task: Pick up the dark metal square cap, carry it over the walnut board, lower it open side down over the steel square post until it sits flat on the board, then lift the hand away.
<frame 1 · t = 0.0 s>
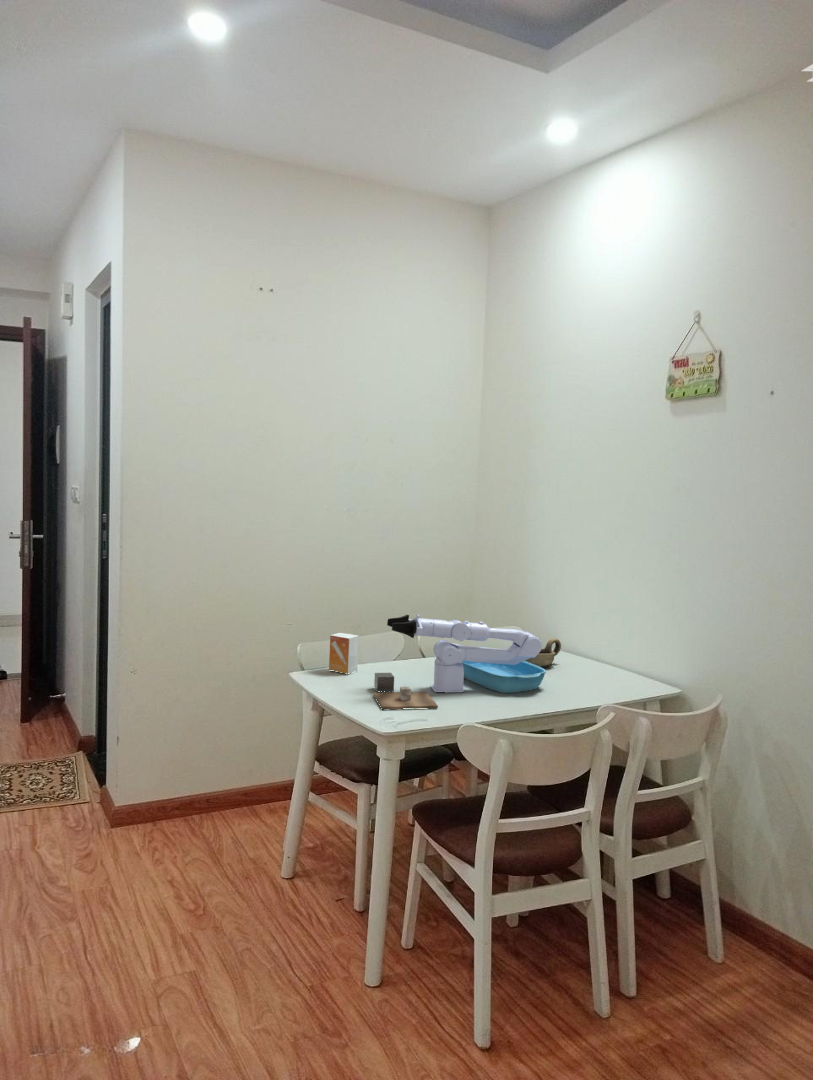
hand: (389, 624, 259), 22 cm above the table, tool horizontal, fingers open, 7 cm apart
post board: (404, 702, 249), on the table
casserole dish: (496, 682, 278), on the table
small box: (343, 672, 283), on the table
bowl: (539, 666, 304), on the table
square cap: (383, 690, 262), on the table
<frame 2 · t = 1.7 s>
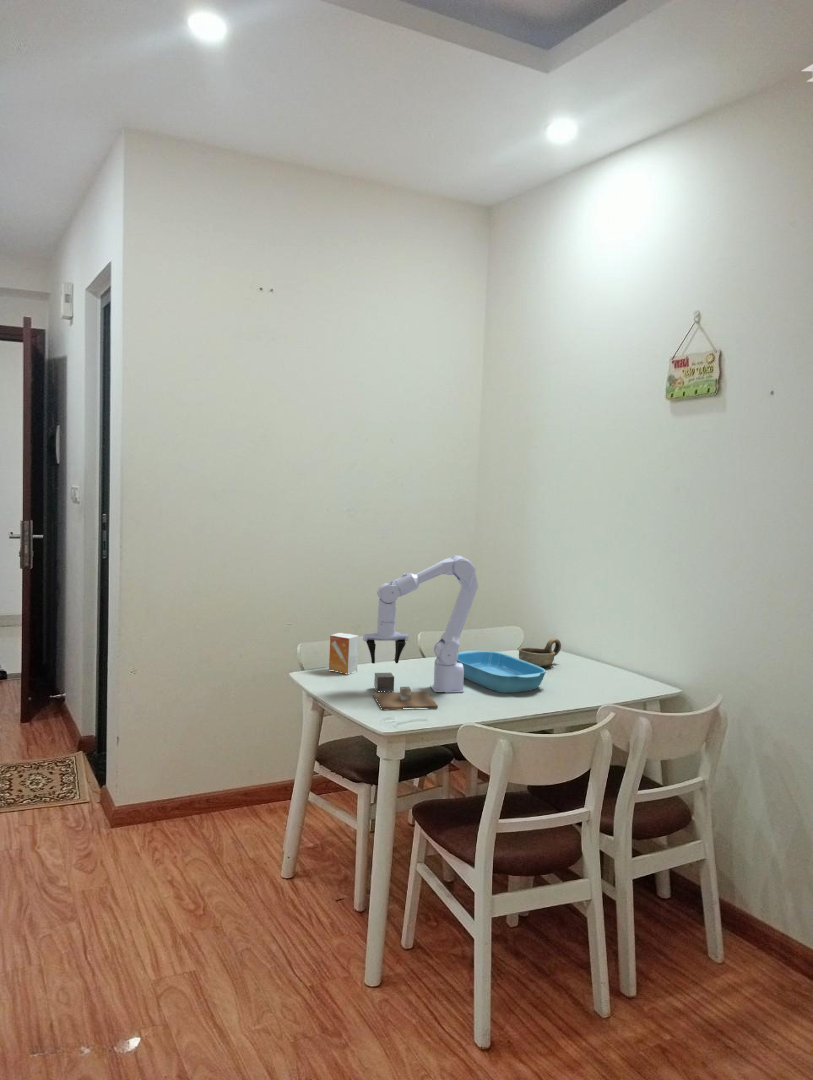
hand: (384, 662, 261), 9 cm above the table, tool pointing down, fingers open, 7 cm apart
nothing on the table moved.
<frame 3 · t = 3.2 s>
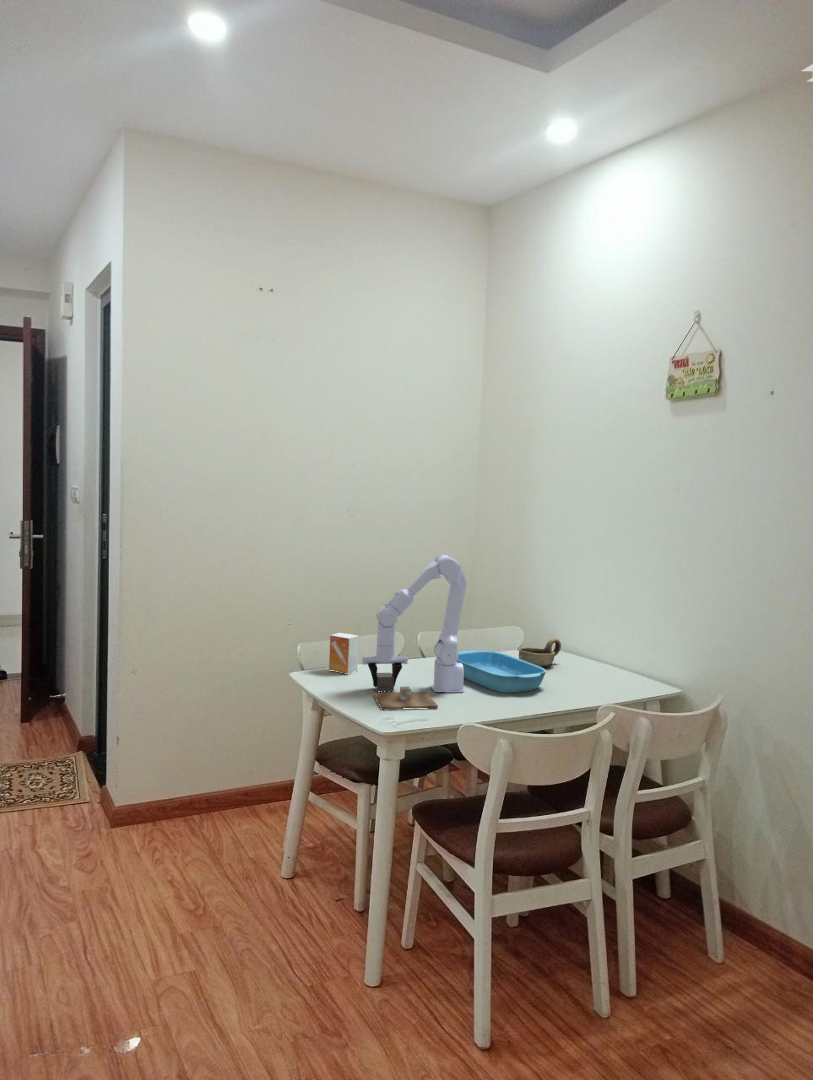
hand: (384, 685, 262), 1 cm above the table, tool pointing down, fingers closed on square cap, 5 cm apart
square cap: (383, 690, 262), on the table, touching gripper
everything else where it was.
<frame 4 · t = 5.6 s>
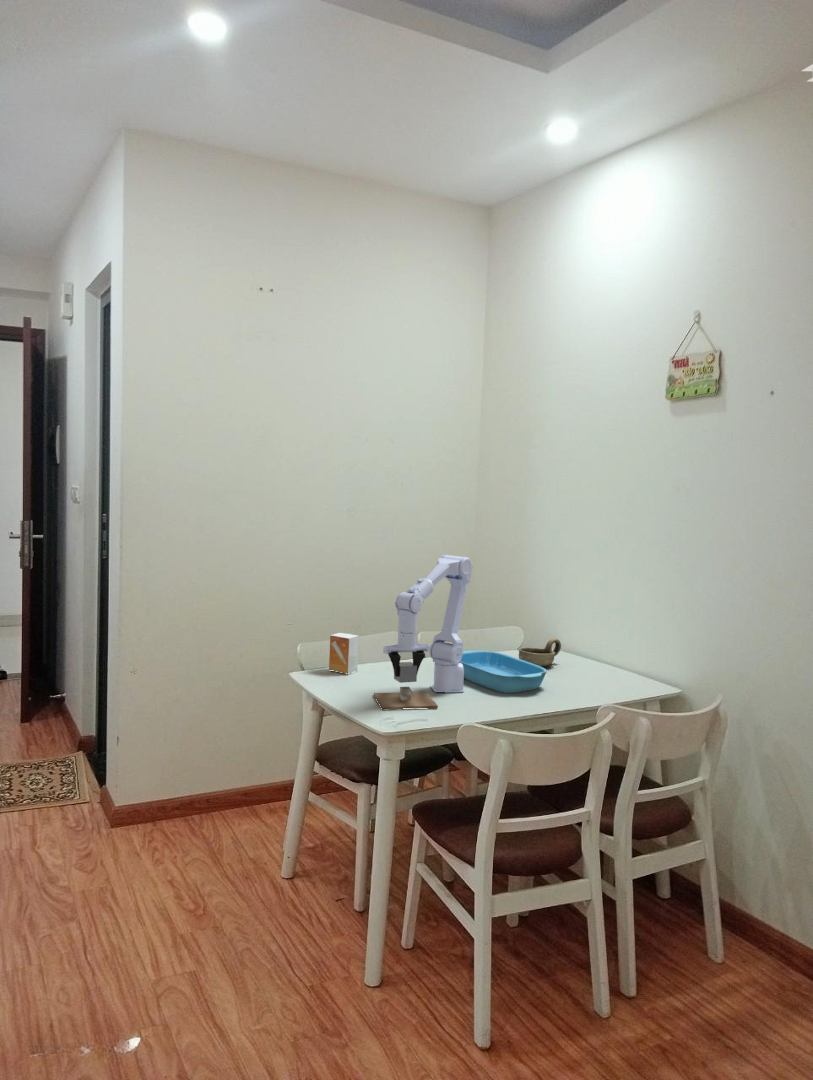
hand: (405, 675, 248), 8 cm above the table, tool pointing down, fingers closed on square cap, 5 cm apart
square cap: (405, 680, 249), point 7 cm above the table, touching gripper
everything else where it was.
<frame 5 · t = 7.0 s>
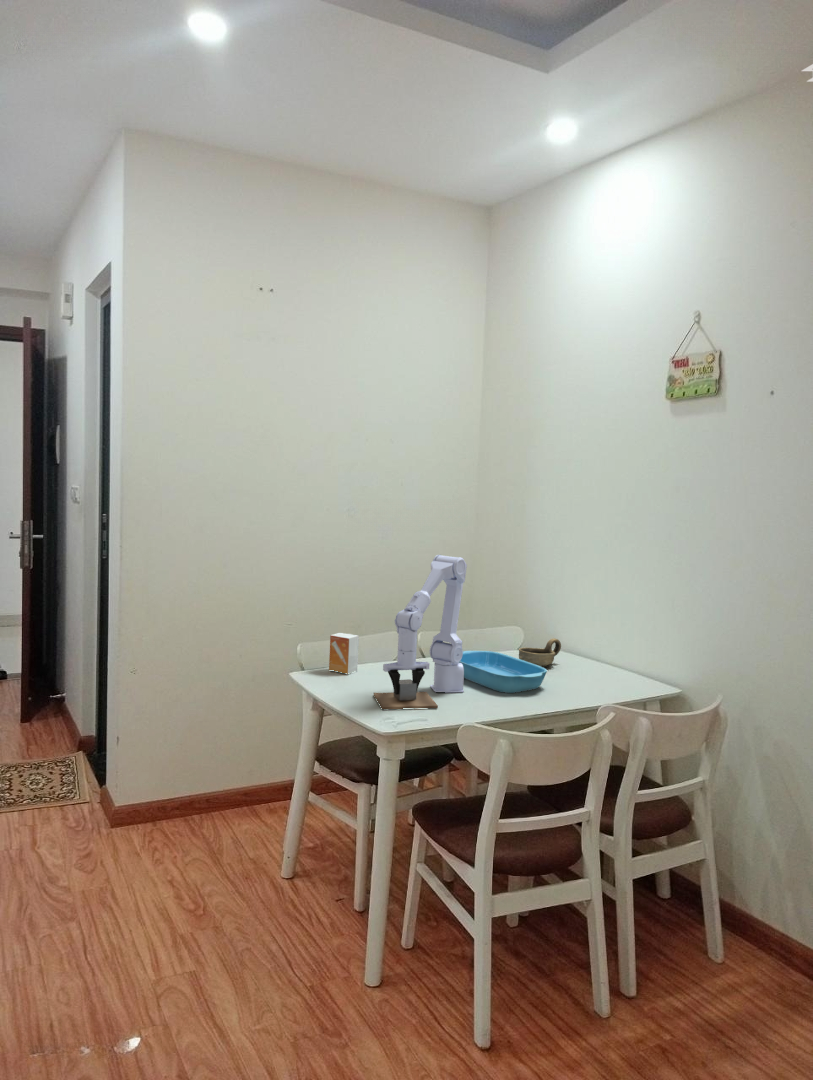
hand: (405, 693, 249), 3 cm above the table, tool pointing down, fingers closed on square cap, 5 cm apart
square cap: (404, 697, 249), point 1 cm above the table, touching gripper
everything else where it was.
when the fingers open (3 cm above the table, at t = 8.2 s): square cap stays where it is, resting on post board.
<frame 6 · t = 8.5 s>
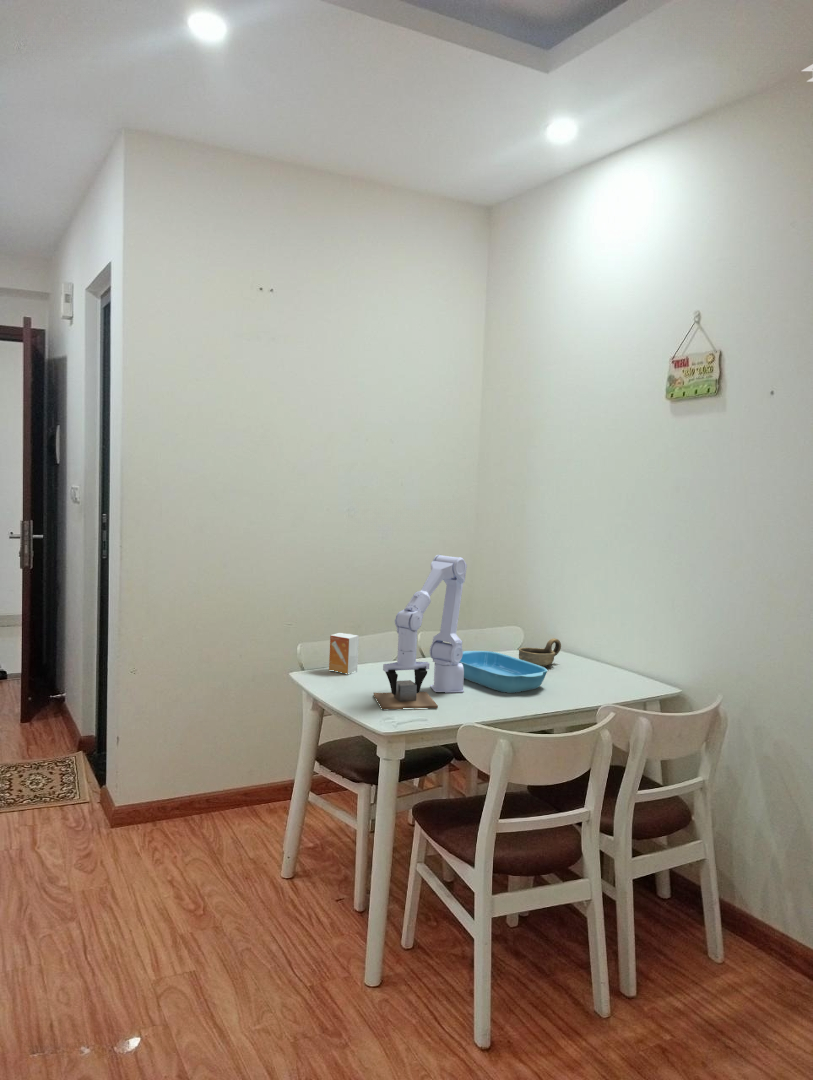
hand: (405, 693, 249), 3 cm above the table, tool pointing down, fingers open, 7 cm apart
square cap: (404, 698, 249), point 1 cm above the table, touching post board
everything else where it was.
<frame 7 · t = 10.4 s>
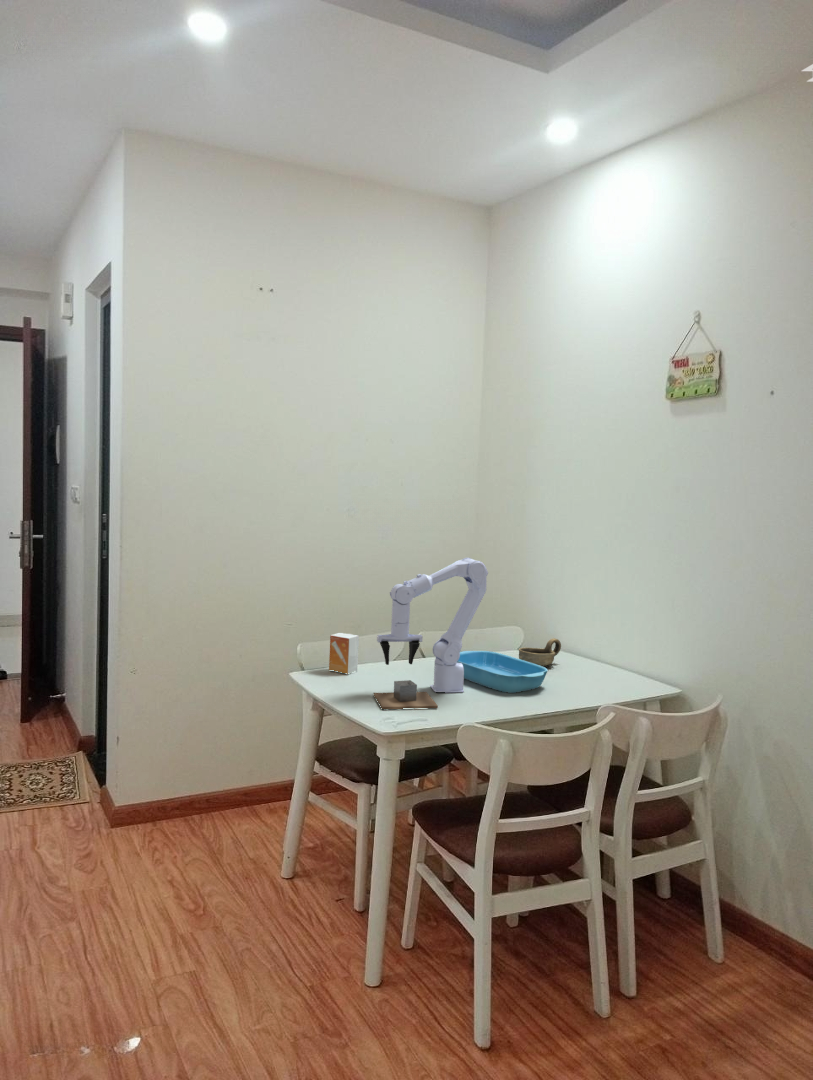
hand: (398, 663, 259), 9 cm above the table, tool pointing down, fingers open, 7 cm apart
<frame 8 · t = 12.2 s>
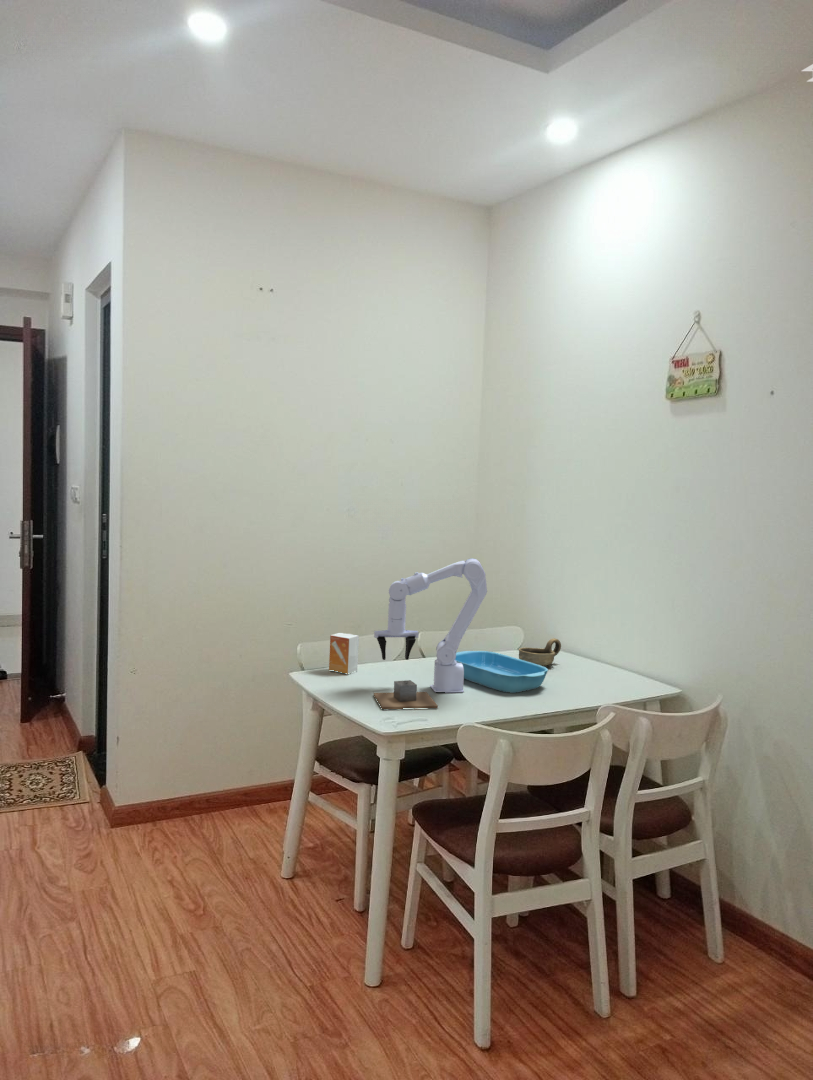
hand: (395, 659, 265), 9 cm above the table, tool pointing down, fingers open, 7 cm apart
at the end: square cap 0.2 cm off-centre on the post board, point 1.0 cm above the post board's base; square cap tilted 0°; the gripper is holding nothing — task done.
